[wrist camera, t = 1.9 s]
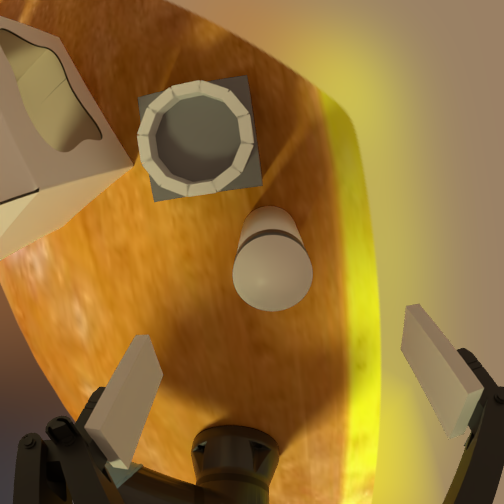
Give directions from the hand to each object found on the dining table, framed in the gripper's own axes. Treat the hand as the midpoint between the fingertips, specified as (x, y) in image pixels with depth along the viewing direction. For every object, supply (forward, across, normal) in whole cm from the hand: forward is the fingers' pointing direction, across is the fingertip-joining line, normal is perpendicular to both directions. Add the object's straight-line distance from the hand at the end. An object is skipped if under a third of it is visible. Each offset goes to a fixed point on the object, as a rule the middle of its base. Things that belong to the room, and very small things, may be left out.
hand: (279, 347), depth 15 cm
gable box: (+21, +24, -17) cm, 36 cm away
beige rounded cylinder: (+21, 0, 0) cm, 21 cm away
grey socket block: (+21, +5, -11) cm, 24 cm away
